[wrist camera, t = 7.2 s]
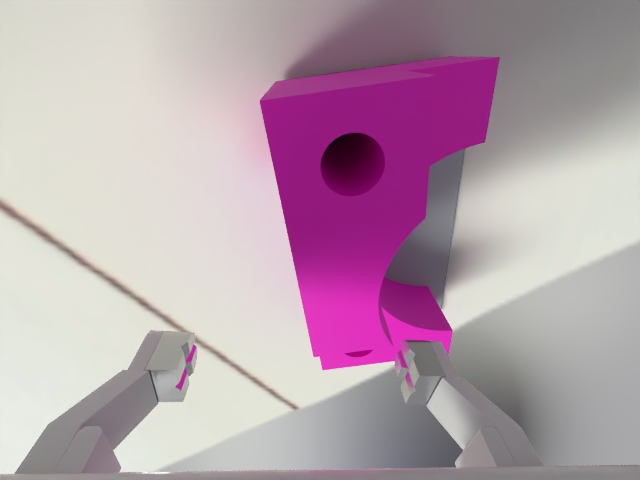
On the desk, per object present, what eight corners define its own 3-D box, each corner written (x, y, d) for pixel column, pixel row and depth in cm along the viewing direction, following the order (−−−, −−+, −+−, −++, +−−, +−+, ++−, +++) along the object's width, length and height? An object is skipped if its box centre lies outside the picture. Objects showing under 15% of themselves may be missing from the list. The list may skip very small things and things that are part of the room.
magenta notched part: (259, 100, 8) (556, 57, 7) (276, 81, 13) (449, 56, 13) (325, 413, 16) (469, 395, 15) (318, 321, 21) (425, 307, 21)
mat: (328, 325, 21) (328, 328, 21) (299, 122, 14) (299, 123, 14) (438, 311, 21) (440, 314, 21) (468, 99, 14) (471, 100, 14)
